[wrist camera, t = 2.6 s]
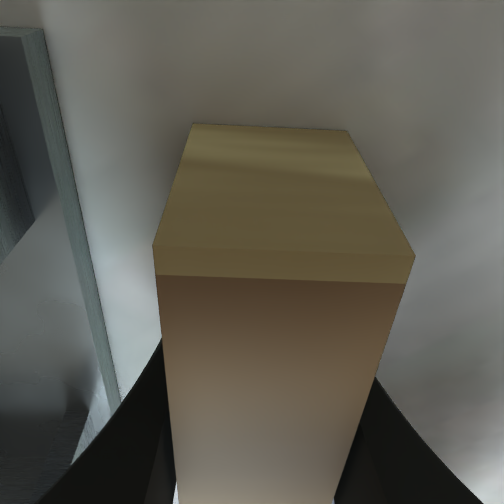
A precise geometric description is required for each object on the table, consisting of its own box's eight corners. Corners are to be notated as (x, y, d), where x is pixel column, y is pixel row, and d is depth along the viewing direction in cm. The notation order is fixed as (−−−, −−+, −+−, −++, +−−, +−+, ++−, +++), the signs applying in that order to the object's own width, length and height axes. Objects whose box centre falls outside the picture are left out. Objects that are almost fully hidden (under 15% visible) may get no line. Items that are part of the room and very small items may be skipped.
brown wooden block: (292, 426, 17) (306, 578, 13) (201, 424, 17) (186, 576, 13) (347, 130, 10) (415, 255, 6) (192, 123, 10) (152, 246, 6)
